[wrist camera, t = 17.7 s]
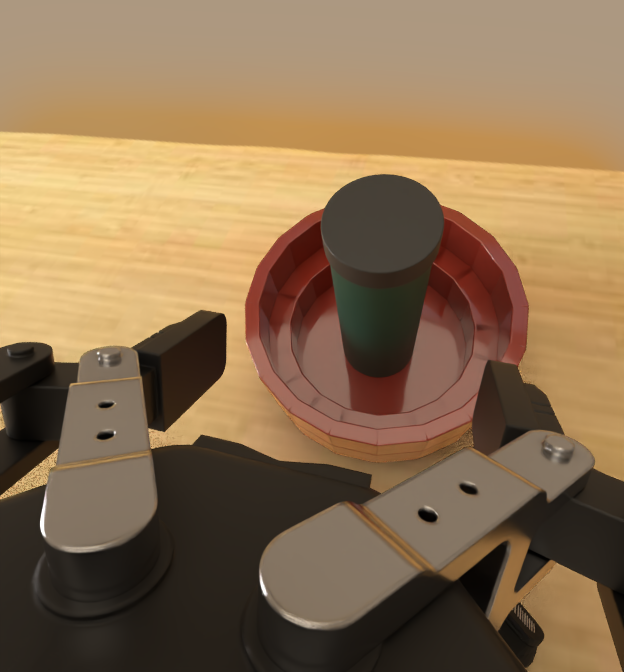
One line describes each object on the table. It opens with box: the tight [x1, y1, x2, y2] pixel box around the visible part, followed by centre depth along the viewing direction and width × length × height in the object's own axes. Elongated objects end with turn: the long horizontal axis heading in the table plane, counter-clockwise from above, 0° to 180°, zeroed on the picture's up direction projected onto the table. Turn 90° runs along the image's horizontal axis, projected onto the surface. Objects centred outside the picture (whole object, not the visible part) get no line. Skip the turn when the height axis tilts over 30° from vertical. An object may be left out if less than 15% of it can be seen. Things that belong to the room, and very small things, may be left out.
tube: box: [321, 174, 444, 377], centre depth 23 cm, size 5×5×12 cm
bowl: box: [245, 205, 529, 463], centre depth 26 cm, size 15×15×6 cm
